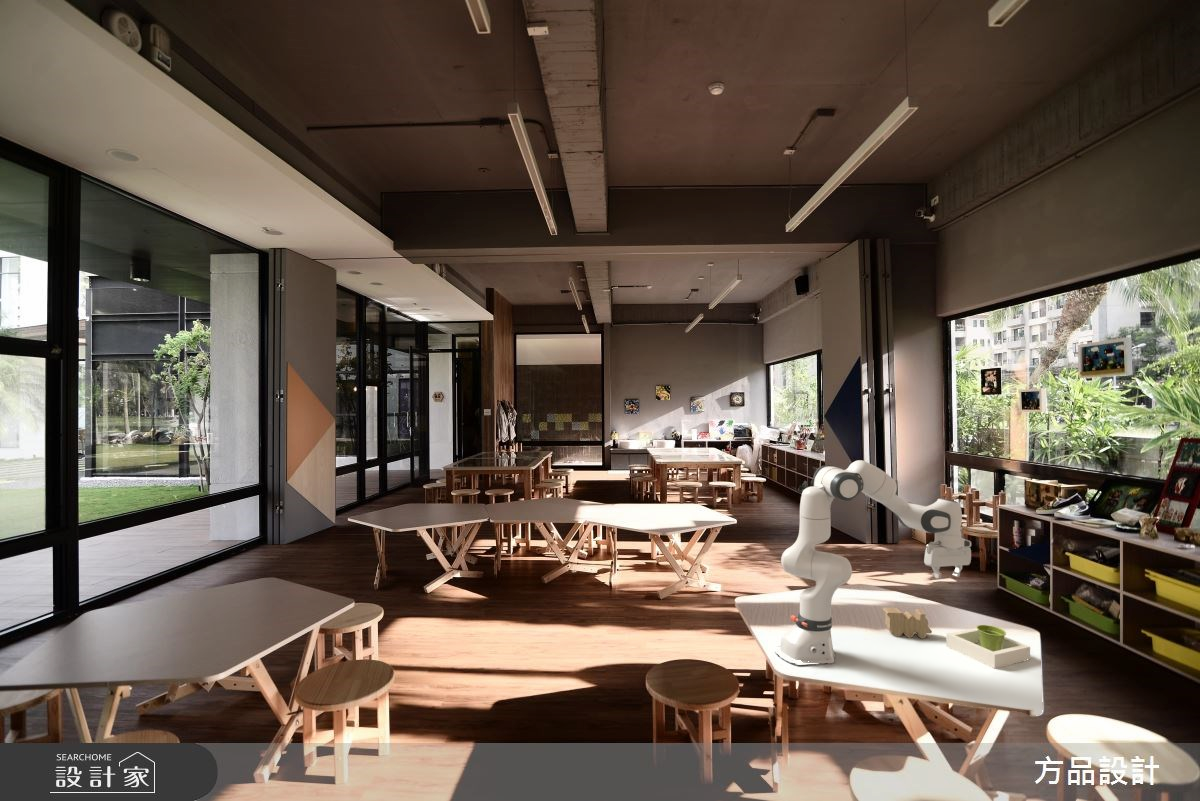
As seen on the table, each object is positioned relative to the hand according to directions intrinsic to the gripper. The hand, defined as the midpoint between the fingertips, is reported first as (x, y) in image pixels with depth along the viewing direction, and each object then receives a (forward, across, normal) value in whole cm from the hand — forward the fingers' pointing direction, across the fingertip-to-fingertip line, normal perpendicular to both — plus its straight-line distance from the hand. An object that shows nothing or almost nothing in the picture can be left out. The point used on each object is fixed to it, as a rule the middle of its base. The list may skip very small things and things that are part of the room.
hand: (947, 577), depth 220 cm
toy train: (+28, -1, +17) cm, 33 cm away
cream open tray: (+28, +15, -6) cm, 32 cm away
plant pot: (+28, +17, -5) cm, 33 cm away
